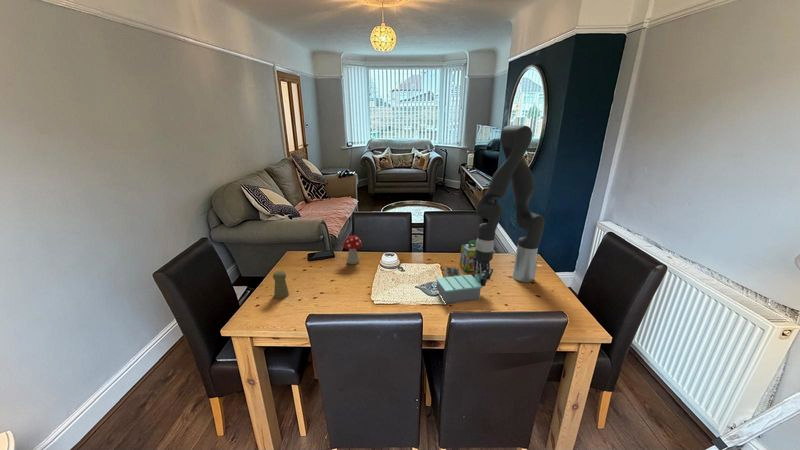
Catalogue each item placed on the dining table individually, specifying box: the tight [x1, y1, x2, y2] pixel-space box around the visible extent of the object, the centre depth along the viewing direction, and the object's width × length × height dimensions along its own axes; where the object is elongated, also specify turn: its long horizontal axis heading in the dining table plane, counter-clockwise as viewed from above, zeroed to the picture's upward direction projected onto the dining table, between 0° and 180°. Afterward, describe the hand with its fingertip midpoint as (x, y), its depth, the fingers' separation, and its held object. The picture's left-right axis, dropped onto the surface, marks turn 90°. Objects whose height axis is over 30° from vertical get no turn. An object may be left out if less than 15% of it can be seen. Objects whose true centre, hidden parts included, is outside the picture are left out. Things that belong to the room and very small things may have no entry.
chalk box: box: [459, 239, 477, 272], centre depth 167 cm, size 9×9×15 cm
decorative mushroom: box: [342, 235, 363, 265], centre depth 170 cm, size 10×9×15 cm
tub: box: [436, 281, 482, 305], centre depth 142 cm, size 16×10×6 cm, turn 105°
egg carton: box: [445, 266, 462, 277], centre depth 159 cm, size 11×8×4 cm
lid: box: [435, 273, 488, 292], centre depth 141 cm, size 21×11×3 cm, turn 105°
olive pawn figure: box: [272, 270, 290, 300], centre depth 139 cm, size 6×6×11 cm
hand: (480, 283), depth 144 cm, fingers open, 3 cm apart
